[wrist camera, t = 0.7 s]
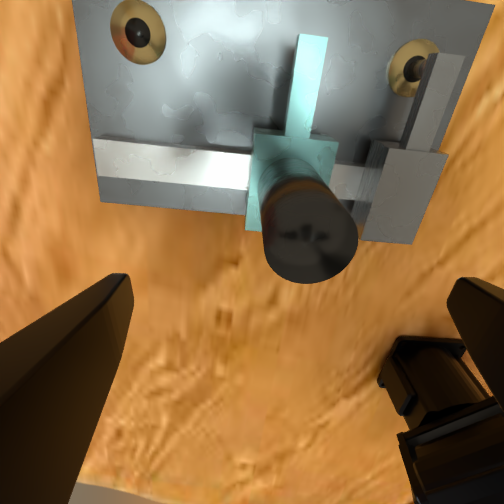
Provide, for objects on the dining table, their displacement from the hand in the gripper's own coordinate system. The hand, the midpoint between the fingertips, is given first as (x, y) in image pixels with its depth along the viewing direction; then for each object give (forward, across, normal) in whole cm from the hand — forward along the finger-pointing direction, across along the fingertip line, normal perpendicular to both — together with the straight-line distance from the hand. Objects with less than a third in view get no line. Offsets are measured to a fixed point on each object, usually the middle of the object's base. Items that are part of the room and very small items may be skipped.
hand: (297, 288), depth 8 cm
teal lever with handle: (+11, -1, -2) cm, 11 cm away
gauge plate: (+13, 0, -3) cm, 13 cm away
